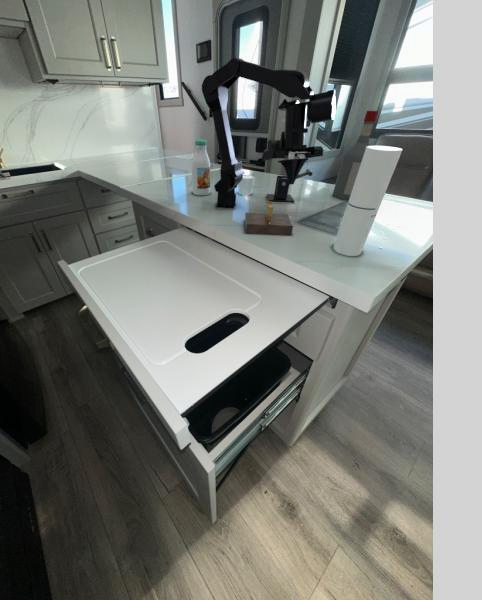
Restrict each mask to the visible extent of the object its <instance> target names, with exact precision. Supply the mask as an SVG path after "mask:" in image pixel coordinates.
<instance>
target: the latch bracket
mask: <svg viewBox="0 0 482 600" xmlns="http://www.w3.org/2000/svg"><path fill="white" fill-rule="evenodd" d="M284 177H286V178H284ZM289 189H290V184H289V181H288V178H287V175H276V181H275V187H274V193H266V199H267V202H268V201H272V203H289V204H290V203H293V204H294V203H295V199H294V197H293V195H292V194H289Z"/></svg>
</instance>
